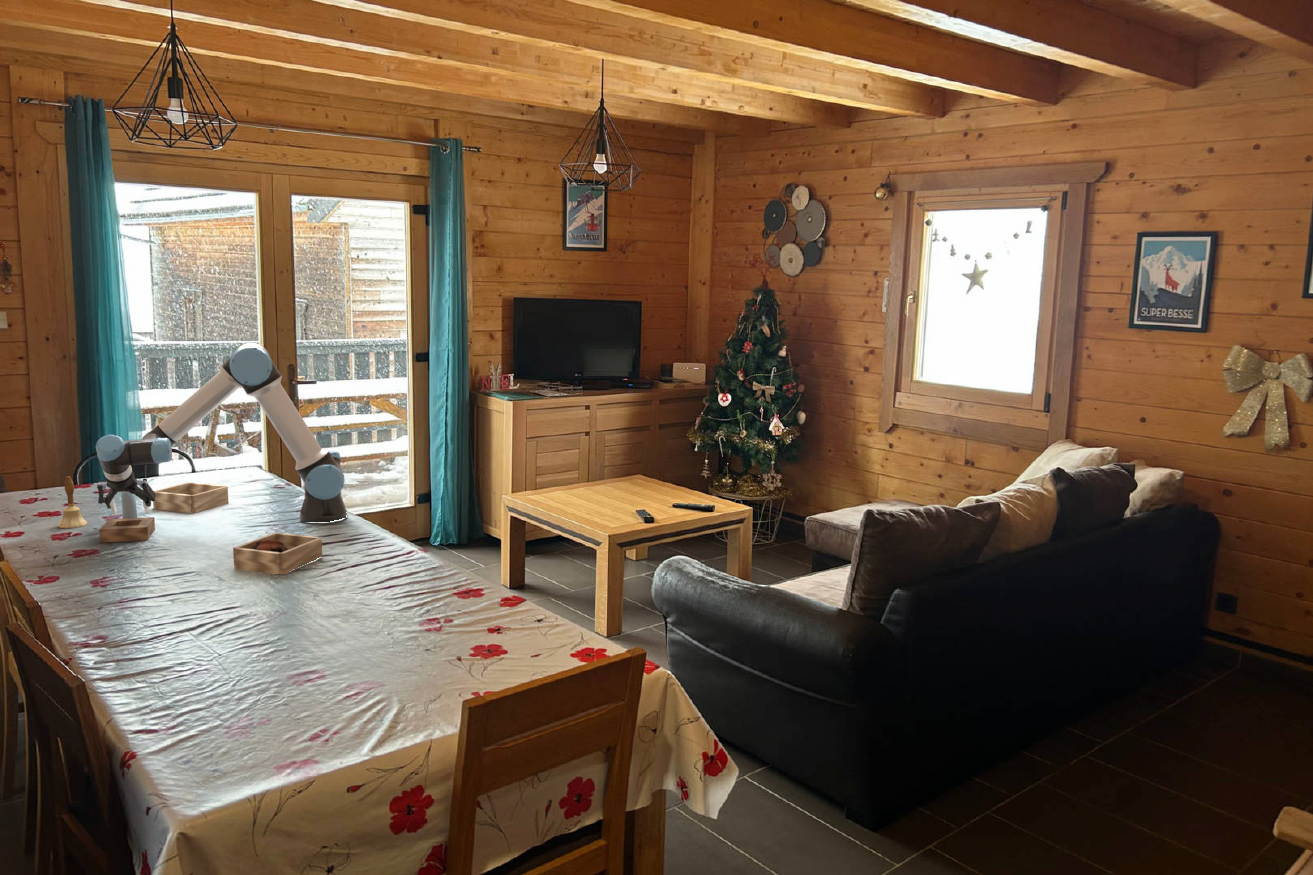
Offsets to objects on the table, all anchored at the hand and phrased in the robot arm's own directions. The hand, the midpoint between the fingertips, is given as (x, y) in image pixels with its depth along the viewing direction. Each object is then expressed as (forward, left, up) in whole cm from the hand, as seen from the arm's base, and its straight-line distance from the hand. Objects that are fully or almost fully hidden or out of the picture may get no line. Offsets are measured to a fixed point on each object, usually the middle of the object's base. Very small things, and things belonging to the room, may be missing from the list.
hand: (131, 511), depth 312 cm
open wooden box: (-71, +20, -4) cm, 74 cm away
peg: (-2, +3, -4) cm, 5 cm away
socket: (-10, +12, -4) cm, 16 cm away
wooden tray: (+1, -27, -4) cm, 28 cm away
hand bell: (+16, +8, -5) cm, 18 cm away
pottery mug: (-70, +22, -5) cm, 73 cm away
